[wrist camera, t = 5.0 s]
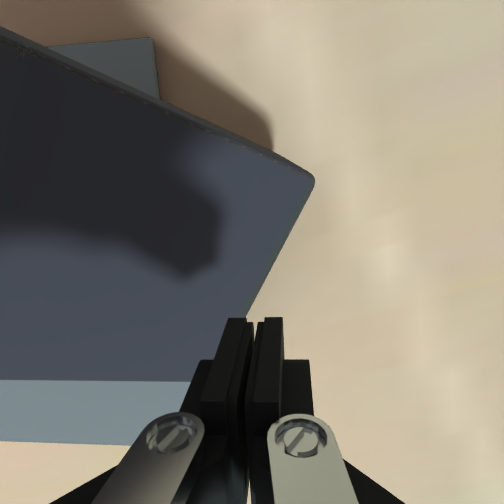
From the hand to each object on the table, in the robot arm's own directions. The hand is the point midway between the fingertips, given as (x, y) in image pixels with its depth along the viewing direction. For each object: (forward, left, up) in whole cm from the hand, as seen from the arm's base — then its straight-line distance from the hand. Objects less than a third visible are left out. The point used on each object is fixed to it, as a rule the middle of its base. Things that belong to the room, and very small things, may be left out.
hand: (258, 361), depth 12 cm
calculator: (+1, 0, -7) cm, 7 cm away
